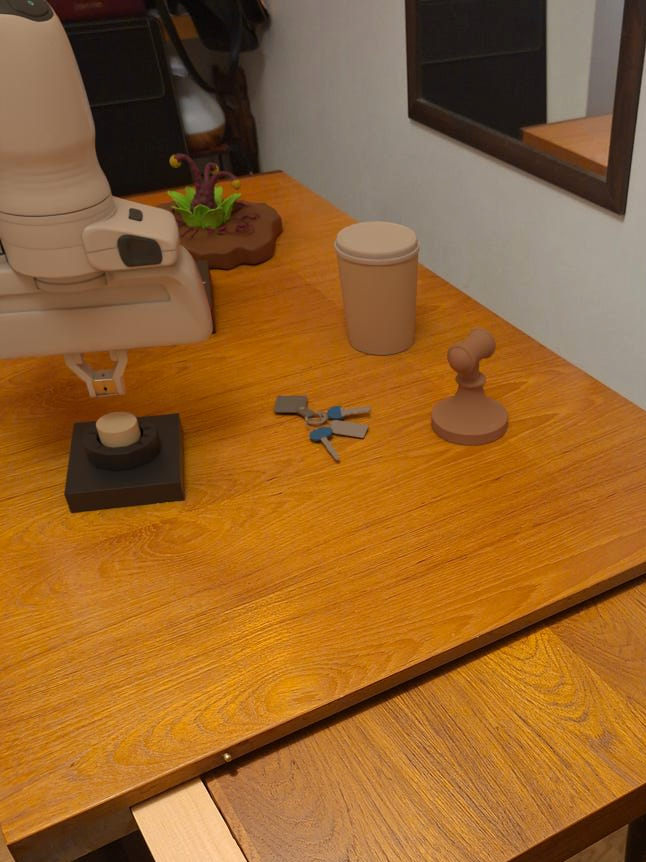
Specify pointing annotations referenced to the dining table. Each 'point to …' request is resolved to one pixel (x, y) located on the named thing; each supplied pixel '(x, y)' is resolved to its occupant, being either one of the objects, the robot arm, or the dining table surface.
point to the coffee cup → (378, 285)
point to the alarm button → (118, 429)
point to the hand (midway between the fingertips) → (108, 393)
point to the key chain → (323, 419)
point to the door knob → (470, 396)
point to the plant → (221, 221)
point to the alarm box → (126, 467)
